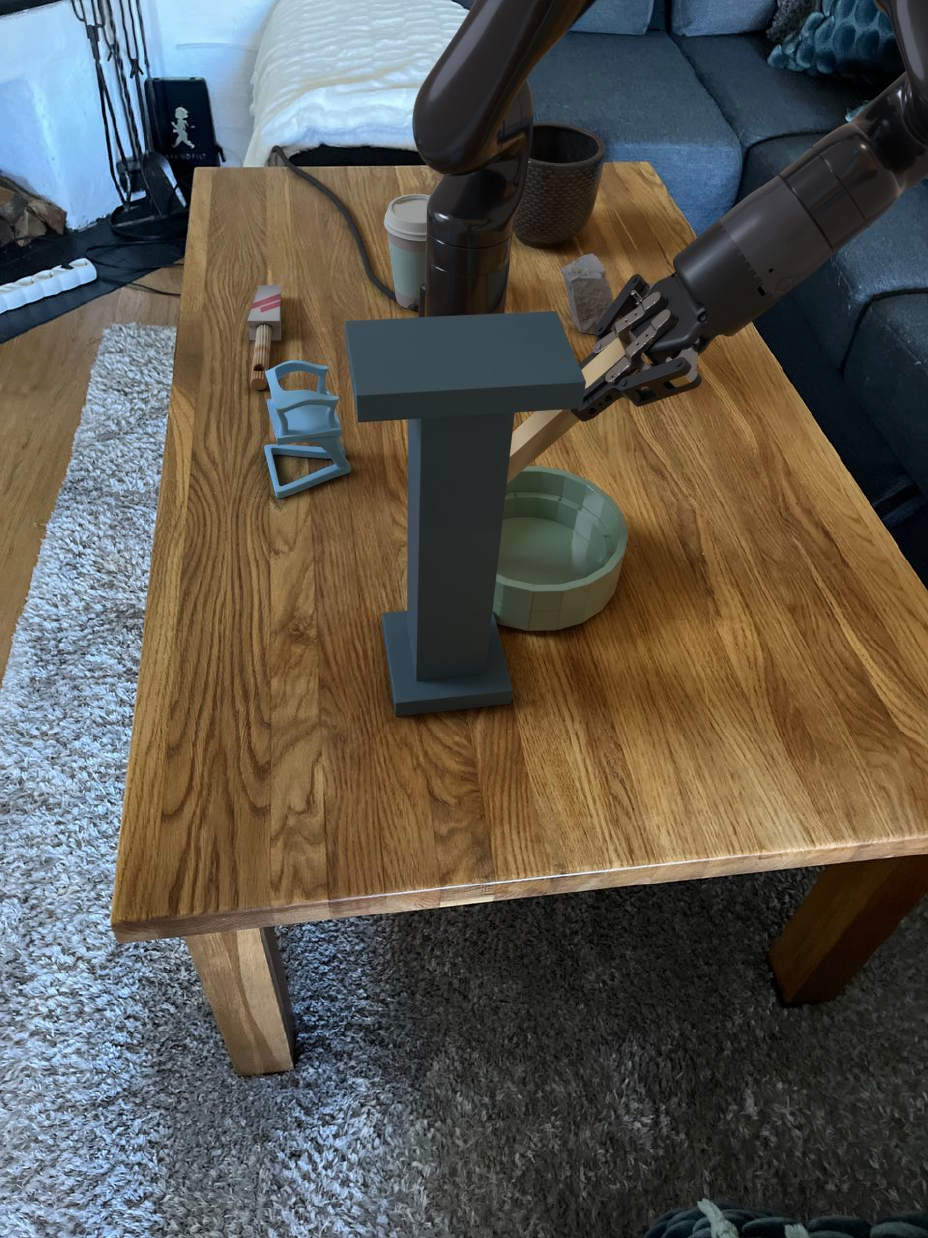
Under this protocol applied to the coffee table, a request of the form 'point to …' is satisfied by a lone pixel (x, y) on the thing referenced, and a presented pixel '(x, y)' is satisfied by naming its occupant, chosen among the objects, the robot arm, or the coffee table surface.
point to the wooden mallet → (557, 415)
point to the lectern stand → (456, 481)
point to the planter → (559, 184)
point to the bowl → (556, 550)
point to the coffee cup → (407, 245)
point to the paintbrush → (264, 330)
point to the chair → (304, 426)
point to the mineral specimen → (587, 292)
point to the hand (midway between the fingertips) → (571, 402)
